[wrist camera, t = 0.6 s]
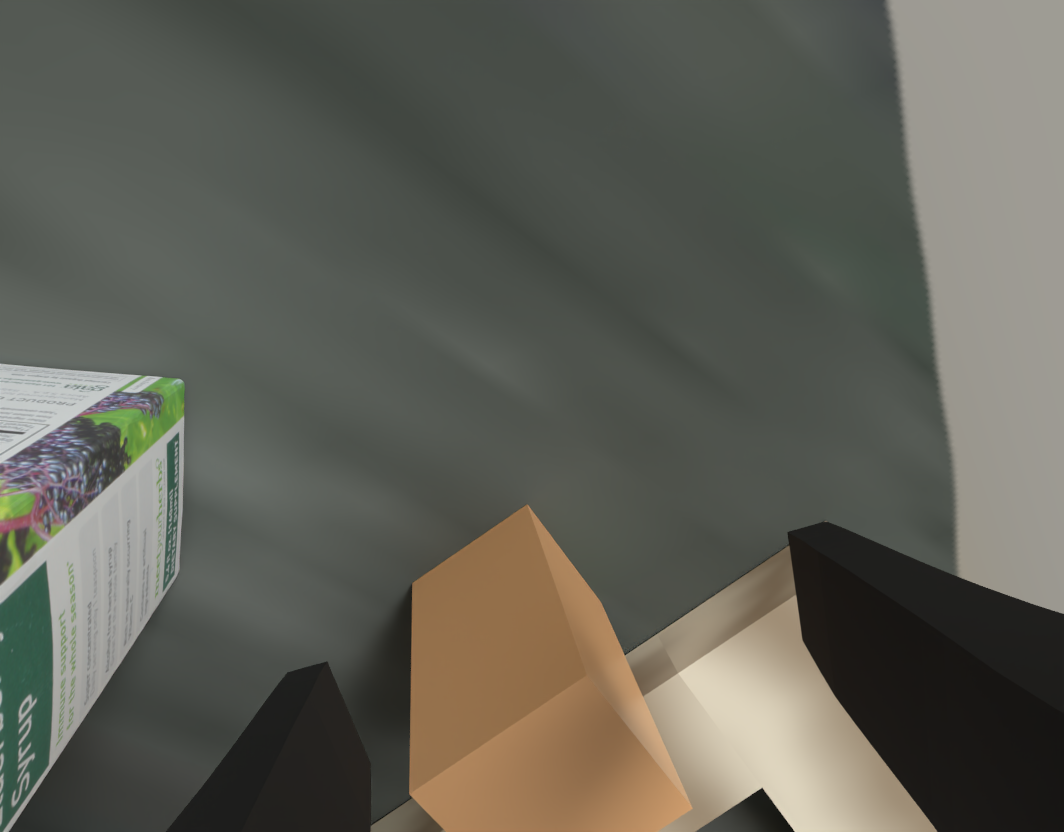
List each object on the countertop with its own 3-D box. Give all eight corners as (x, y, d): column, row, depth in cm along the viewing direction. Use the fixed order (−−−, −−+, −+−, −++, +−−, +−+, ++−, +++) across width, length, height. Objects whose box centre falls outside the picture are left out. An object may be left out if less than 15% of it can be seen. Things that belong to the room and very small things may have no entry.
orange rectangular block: (491, 676, 23) (528, 916, 15) (412, 582, 22) (409, 794, 14) (600, 602, 23) (693, 808, 15) (527, 504, 21) (587, 674, 14)
